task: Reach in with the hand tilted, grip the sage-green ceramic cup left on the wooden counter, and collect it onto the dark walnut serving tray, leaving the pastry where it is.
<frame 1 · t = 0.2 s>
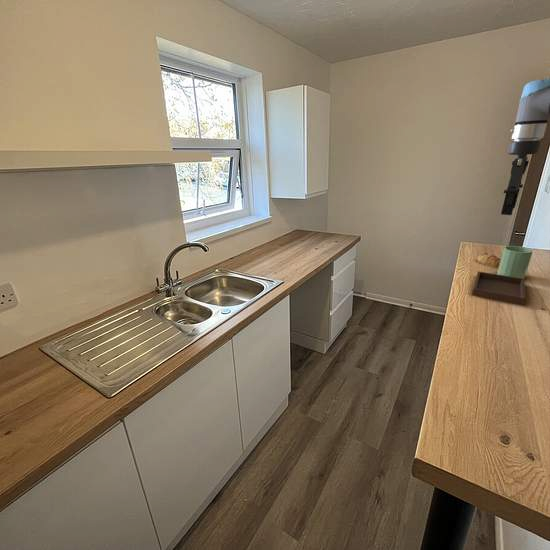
hand: (508, 211, 98), 26 cm above the table, tool pointing down, fingers open, 13 cm apart
cup: (510, 276, 112), on the table
pastry: (489, 264, 125), on the table
tray: (497, 290, 102), on the table
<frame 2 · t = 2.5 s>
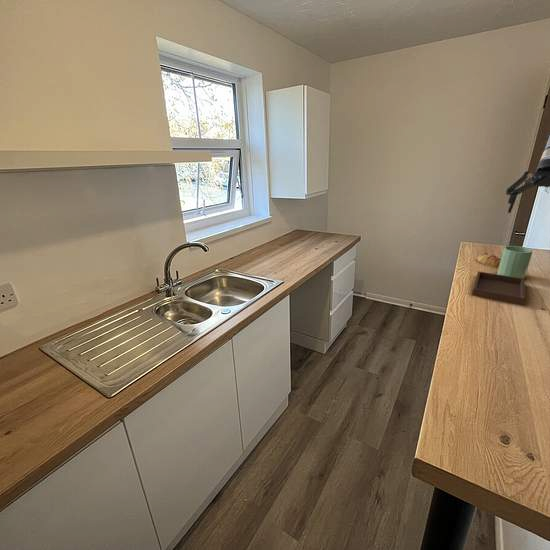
hand: (532, 214, 108), 22 cm above the table, tool tilted 40°, fingers open, 13 cm apart
nothing on the table moved.
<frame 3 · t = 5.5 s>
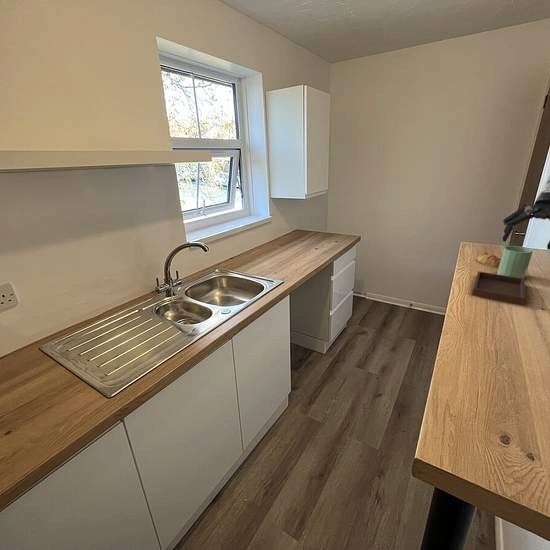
hand: (525, 243, 111), 12 cm above the table, tool tilted 45°, fingers open, 13 cm apart
nothing on the table moved.
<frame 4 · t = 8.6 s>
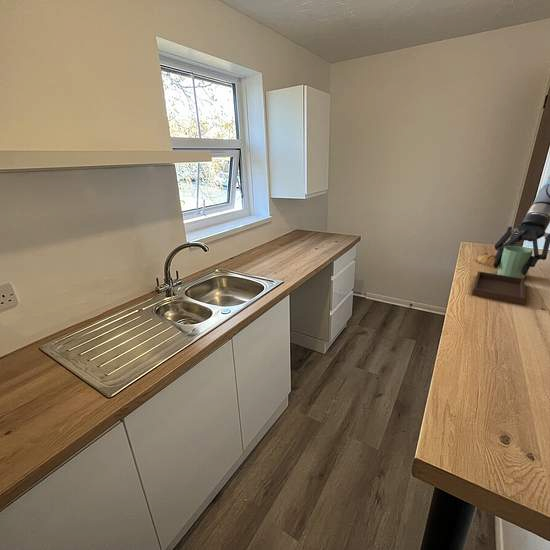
hand: (509, 269, 109), 4 cm above the table, tool tilted 45°, fingers closed on cup, 8 cm apart
cup: (510, 276, 112), on the table, touching gripper
everything else where it was.
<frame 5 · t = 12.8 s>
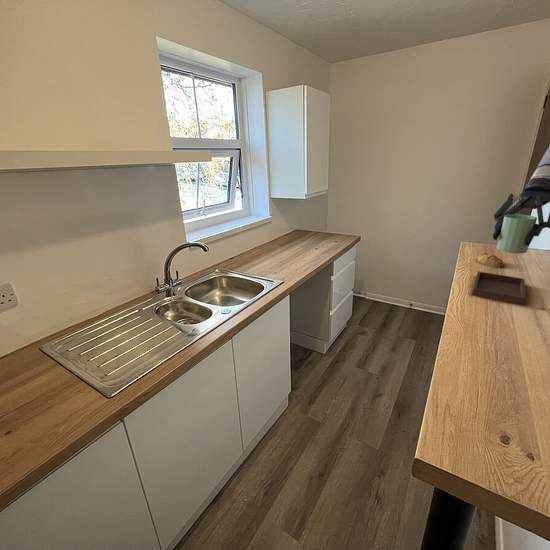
hand: (510, 240, 97), 18 cm above the table, tool tilted 45°, fingers closed on cup, 8 cm apart
cup: (511, 249, 100), point 14 cm above the table, touching gripper
everything else where it was.
when the fingers open (5 cm above the table, at t = 17.3 s): cup stays where it is, resting on tray.
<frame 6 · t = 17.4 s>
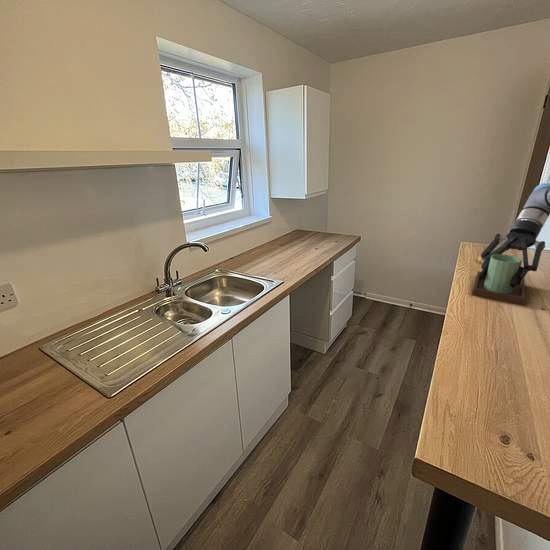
hand: (496, 281, 99), 5 cm above the table, tool tilted 45°, fingers open, 8 cm apart
cup: (497, 288, 102), point 1 cm above the table, touching tray
everything else where it was.
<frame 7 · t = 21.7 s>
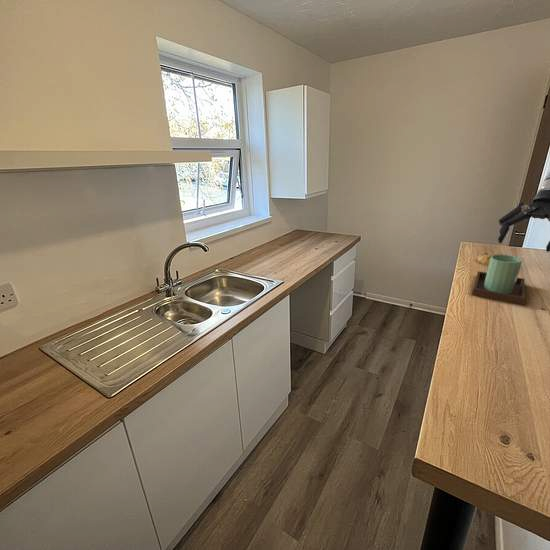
hand: (522, 245, 103), 14 cm above the table, tool tilted 45°, fingers open, 13 cm apart
nothing on the table moved.
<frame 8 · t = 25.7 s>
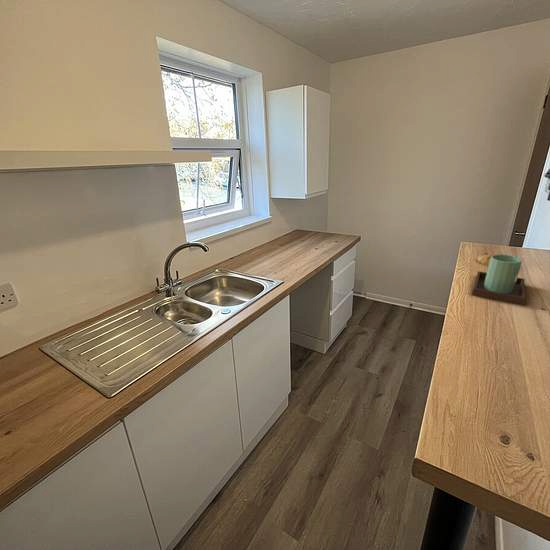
nothing on the table moved.
at the end: cup inside the target area in the tray (0.1 cm from its centre), point 0.8 cm above the tray's base; cup tilted 0°; the gripper is holding nothing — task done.
